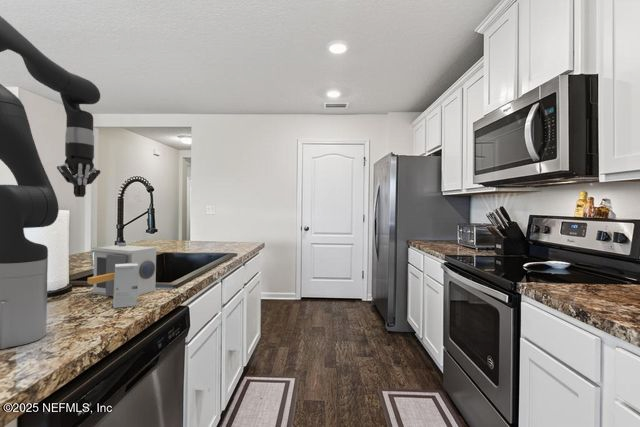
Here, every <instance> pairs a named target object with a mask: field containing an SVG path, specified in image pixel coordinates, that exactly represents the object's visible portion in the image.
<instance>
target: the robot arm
mask: <svg viewBox="0 0 640 427" xmlns="http://www.w3.org/2000/svg"><path fill="white" fill-rule="evenodd" d="M8 50H9V51H12V52H13V53H16V54H17V55H19V56H20V57H21V59H22V60H23V63H24V65H25V68H26V70H27V72H28V73H29V75H30V76H31V77H32V78H33V79H34V80H36V81H37V82H39V83H40V84H42V85H43V86H45V87H47V88H49V89H50V90H52V91H55V92H57V93H59V95H60V97H61V101H62V104H63V107H64V112H65V114H66V125H65V127H66V128H65V129H66V130H65V136H64V143H65V144H64V145H65V147H64V148H65V149H64V150H65V151H64V152H65V153H64V156H65V157H66V158H65V160H64V163H63V164H62V165H58V166H56V169H57V171H58V173H60V175H61V176H62V178H64V180H65V182H67V183H69V184H72V185H73V195H74V197H76V198H84V197H85V196H86V193H87V192H86V191H87V190H86V186H87V185H91V184H93V182H94V181H95V180H96V178H97V177H98V176H99V175H100V174H101V170H99V169H97V168H96V167H95V164H94V158H95V134H94V116H93V114H92V113H90V112H89V111H86V110H82V109H81V107H80V105H94V104H97V103H98V102H99V101H100V99H101V92H100V90H99V88H98V87H97V85H96V84H95V83H93V82H92V81H91V80H89V79H87V78H84V77H82V76H79V75H78V74H74V73H72V72H69V71H68V70H66V69H65V68H64V67H62V66H60V65H59V64H57V63H56V62H55V61H54V60H52V59H50V58H49V57H47V56H46V55H45V54H44V53H43V52H42V51H41V50H39V49H38V47H37V46H35V45H34V44H33V43H32V42H31V41H29V39H28V38H26V36H24V35H23V34H22V33H21V32H19V31H18V30H17V29H16V28H15V27H14V26H13V25H12V24H10V23H9V22H8V21H7V20H6V19H5V18H4V17H2V16H1V15H0V53H1V52H4V51H5V52H6V51H8ZM30 125H31V124H30V122H29V118H28V115H27V113H26V109H25V106H24V104H23V102H22V101H21V99H19V97H18V96H16V95H15V94H14V93H13V92H12V91H11V90H9V89H8V88H6V87H5V86H4V85H3V84H2V83H0V161H1V162H2V163H4V165H5V166H6V167H7V169H9V171H10V172H11V173H12V175H13V177H14V180H15V181H16V184H0V350H5V349H7V348H11V347H17V346H18V347H19V346H22V345H23V346H24V345H26V344H30V343H33V342H36V341H38V340H41V339H42V338H44V337H46V336H47V326H48V325H47V324H48V323H47V319H48V267H49V266H48V265H49V258H48V257H49V250H48V246H46V245H45V244H42V243H37V242H34V241H32V240H29V239H28V238H27V237H26V235H25V229H32V228H33V229H34V228H46V227H50V226H52V225H53V224H54V223H55V221H56V222H57V218H58V217H59V213H60V212H59V209H60V208H59V202H58V198H57V195H56V193H55V190H54V187H53V185H52V183H51V181H50V179H49V177H48V174H47V172H46V170H45V167H44V165H43V163H42V160H41V156H40V154H39V152H38V151H39V150H38V149H37V146H36V143H35V139H34V137H33V134H32V130H31V126H30Z"/></svg>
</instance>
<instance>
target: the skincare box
mask: <svg viewBox="0 0 640 427" xmlns="http://www.w3.org/2000/svg"><path fill="white" fill-rule="evenodd" d="M138 269H139V265H138V264H137V263H131V264H115V274H114V296H112V297H113V300H112V308H113V309H116V308H129V307H136V306H137V304H138V296H137V289H138Z"/></svg>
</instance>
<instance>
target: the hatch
mask: <svg viewBox="0 0 640 427" xmlns="http://www.w3.org/2000/svg"><path fill="white" fill-rule="evenodd" d="M115 264H126V256H122V255H111V254H108V255H106V274H104V275H99V276H94V275H93V276H91V277H87V285H93V284H97V283H101V282H106V295H105V296H110V297H114V274H115Z"/></svg>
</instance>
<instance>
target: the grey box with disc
mask: <svg viewBox="0 0 640 427" xmlns="http://www.w3.org/2000/svg"><path fill="white" fill-rule="evenodd" d="M91 252H92V253H93V277H94V276H99V275H104V274H106V255H108V254H111V255H122V256H126V264H131V263H137V264H138V265H139V269H138V289H137V297H138V296H142V295H146V294H149V293H152V292H155V291H156V278H157V277H156V272H157V247H152V246H142V245H140V246H139V245H129V244H127V243H126V242H118V244H117V245H105V246H97V247H94V248H93V249H92V250H91ZM92 285H93V288H92V289H93V290H92V291H91V292H90V293H91V294H94V295H101V296H107V295H106V282H101V283H97V284H92Z"/></svg>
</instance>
